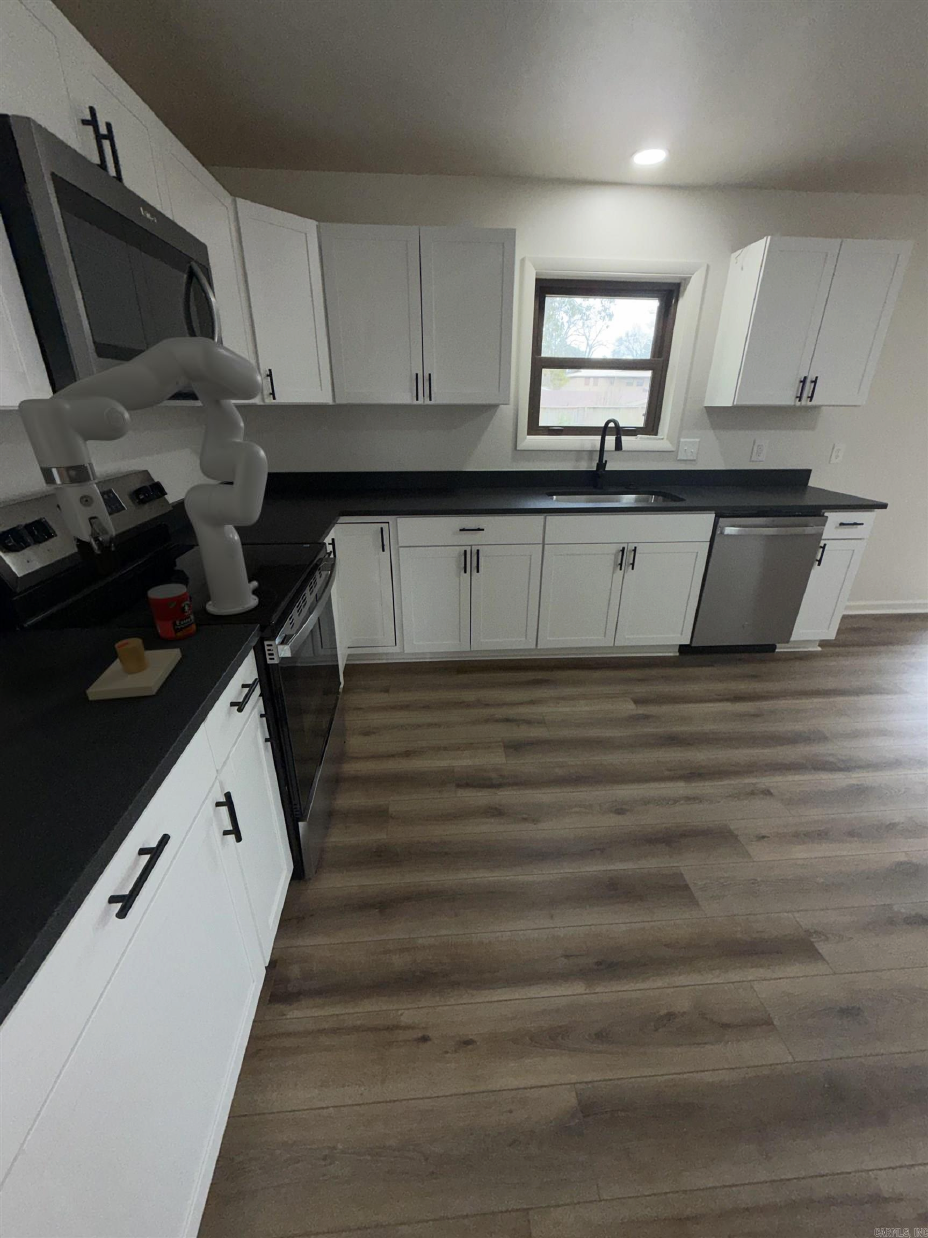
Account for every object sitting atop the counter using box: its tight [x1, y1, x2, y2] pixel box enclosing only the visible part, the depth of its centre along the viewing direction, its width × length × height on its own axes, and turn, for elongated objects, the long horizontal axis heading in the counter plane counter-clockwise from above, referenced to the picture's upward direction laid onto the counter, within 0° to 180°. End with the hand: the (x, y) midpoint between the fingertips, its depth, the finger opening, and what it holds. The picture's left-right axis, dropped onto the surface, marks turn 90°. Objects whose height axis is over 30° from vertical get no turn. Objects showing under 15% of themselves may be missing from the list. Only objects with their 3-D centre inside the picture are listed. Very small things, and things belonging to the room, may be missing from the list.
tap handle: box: [114, 637, 149, 674], centre depth 96 cm, size 4×4×6 cm
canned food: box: [147, 583, 197, 641], centre depth 114 cm, size 8×8×11 cm
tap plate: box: [85, 648, 182, 701], centre depth 98 cm, size 15×11×2 cm
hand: (101, 567), depth 95 cm, fingers open, 9 cm apart
